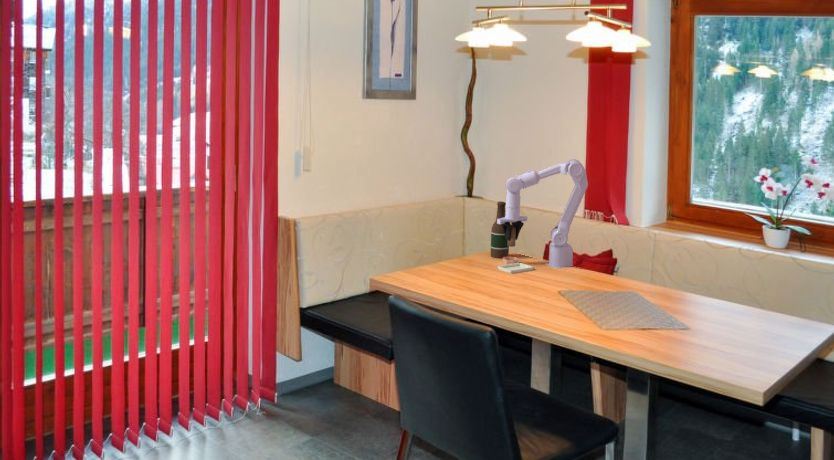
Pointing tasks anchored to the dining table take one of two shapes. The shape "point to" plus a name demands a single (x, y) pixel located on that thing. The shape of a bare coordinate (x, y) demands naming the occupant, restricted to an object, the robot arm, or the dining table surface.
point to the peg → (512, 238)
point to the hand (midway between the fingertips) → (511, 239)
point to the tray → (515, 268)
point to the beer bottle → (499, 235)
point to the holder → (510, 260)
